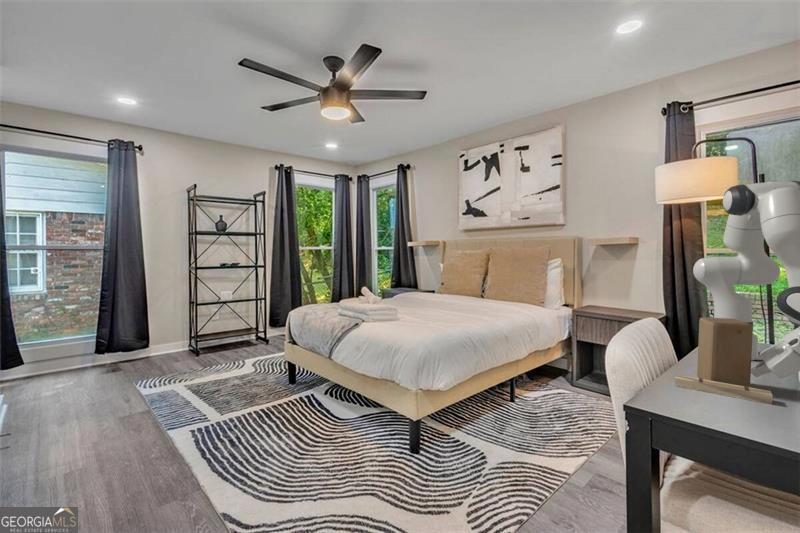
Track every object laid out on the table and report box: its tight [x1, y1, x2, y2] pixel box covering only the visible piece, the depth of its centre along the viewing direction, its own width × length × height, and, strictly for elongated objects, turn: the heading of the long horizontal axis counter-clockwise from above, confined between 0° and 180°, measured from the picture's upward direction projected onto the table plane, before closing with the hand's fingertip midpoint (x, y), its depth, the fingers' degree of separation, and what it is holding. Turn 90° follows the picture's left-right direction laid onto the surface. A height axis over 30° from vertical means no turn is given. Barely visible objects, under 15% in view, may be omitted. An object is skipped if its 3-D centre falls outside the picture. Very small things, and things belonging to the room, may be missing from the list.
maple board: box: [674, 374, 773, 405], centre depth 107 cm, size 4×21×3 cm, turn 50°
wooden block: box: [696, 316, 754, 388], centre depth 113 cm, size 10×10×20 cm
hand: (752, 373), depth 109 cm, fingers closed
